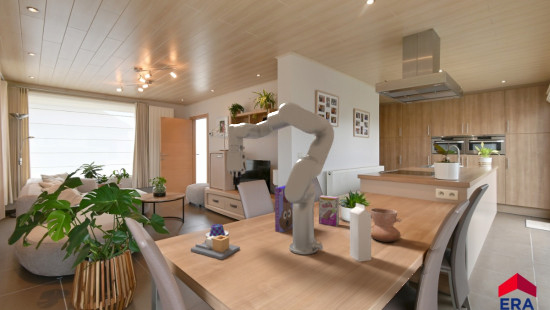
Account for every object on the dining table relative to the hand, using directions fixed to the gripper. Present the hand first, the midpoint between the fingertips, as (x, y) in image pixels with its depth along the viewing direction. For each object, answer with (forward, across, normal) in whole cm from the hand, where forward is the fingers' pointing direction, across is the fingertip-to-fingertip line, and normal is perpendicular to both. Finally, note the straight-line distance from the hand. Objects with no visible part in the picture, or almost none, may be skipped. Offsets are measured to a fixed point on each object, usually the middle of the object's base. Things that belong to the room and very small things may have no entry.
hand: (236, 184), depth 127 cm
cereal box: (+27, -15, -26) cm, 41 cm away
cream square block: (+26, 0, +18) cm, 31 cm away
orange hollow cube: (+26, -5, +18) cm, 32 cm away
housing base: (+27, -2, +18) cm, 32 cm away
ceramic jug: (+27, -65, -33) cm, 78 cm away
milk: (+27, -60, -5) cm, 66 cm away
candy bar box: (+27, -34, -44) cm, 62 cm away
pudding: (+28, +12, +2) cm, 30 cm away
